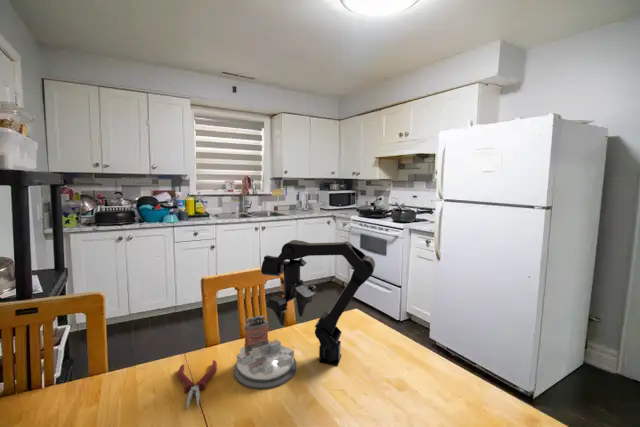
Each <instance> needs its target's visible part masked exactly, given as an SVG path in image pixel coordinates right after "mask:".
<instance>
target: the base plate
mask: <svg viewBox="0 0 640 427" xmlns="http://www.w3.org/2000/svg"><path fill="white" fill-rule="evenodd" d="M297 365H298V364H297V361H296V358H295V357H294V365H293V368H292V370H291V371H290V372H289V373H288V374H287V375H285V376H284V377H282V378H280V379H277V380H274V381H269V382H253V381H249V380H247V379H244V378H243V377H241V376H240V375H239V373H238V371H237V362H236V363H235V365H234V366H233V376H234V379H235V380H236V381H237V383H238V384H240V385H242V386H243V387H246V388H247V389H248V388H249V389H253V390H268V389H273V388H277V387H279V386H282V385H284V384H287V382H289V381H290V380H291V379H292V378H293V377H294V376H295V375H296V372H297Z"/></svg>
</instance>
